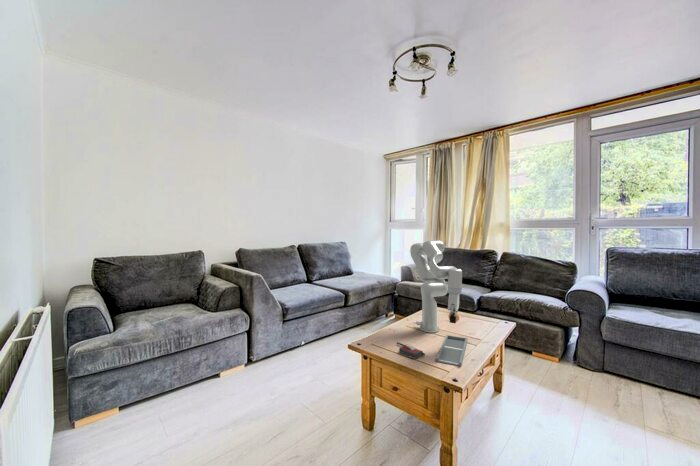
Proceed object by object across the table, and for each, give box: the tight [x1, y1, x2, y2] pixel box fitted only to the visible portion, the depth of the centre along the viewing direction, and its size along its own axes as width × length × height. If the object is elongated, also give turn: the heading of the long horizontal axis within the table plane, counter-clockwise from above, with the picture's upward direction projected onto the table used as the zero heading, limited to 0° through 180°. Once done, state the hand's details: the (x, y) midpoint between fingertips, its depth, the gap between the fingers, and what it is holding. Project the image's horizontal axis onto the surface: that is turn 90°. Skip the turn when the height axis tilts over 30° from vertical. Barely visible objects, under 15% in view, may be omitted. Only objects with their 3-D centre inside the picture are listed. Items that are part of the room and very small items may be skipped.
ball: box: [447, 312, 460, 323], centre depth 166 cm, size 6×6×6 cm
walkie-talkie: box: [396, 342, 426, 360], centre depth 159 cm, size 9×4×20 cm
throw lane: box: [435, 334, 468, 367], centre depth 160 cm, size 12×35×2 cm, turn 153°
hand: (453, 320), depth 166 cm, fingers closed on ball, 5 cm apart
